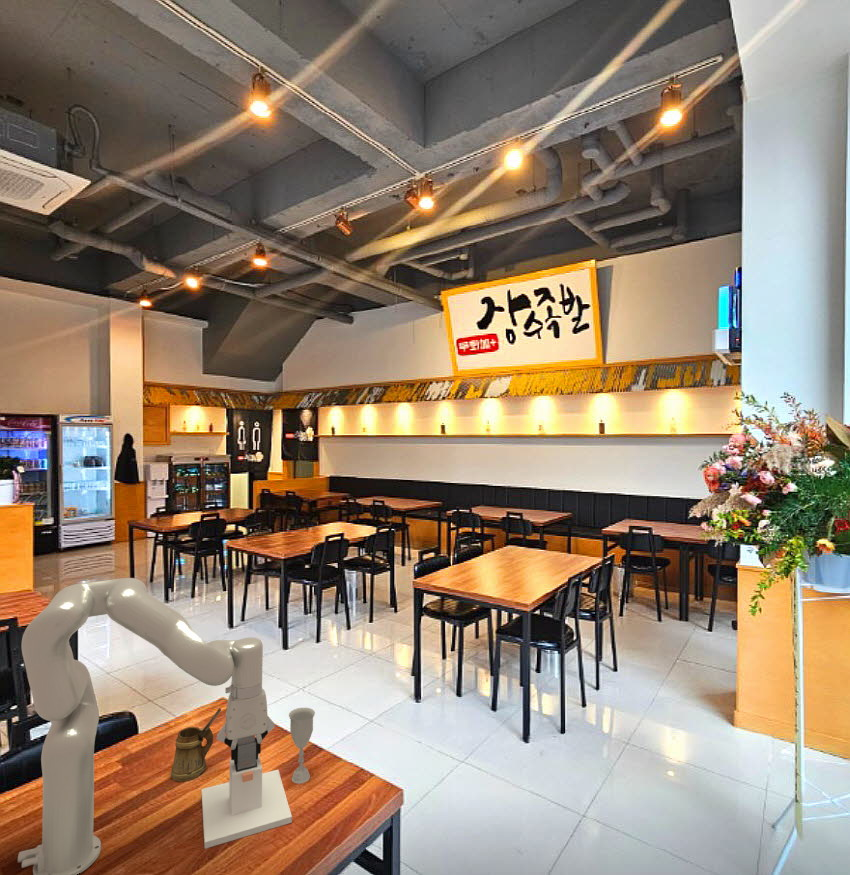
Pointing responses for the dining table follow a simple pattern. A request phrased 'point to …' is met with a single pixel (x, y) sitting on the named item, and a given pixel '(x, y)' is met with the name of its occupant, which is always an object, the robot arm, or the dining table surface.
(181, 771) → the wooden mug
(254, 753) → the column
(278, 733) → the dining table surface
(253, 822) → the stand
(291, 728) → the chalice
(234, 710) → the robot arm
